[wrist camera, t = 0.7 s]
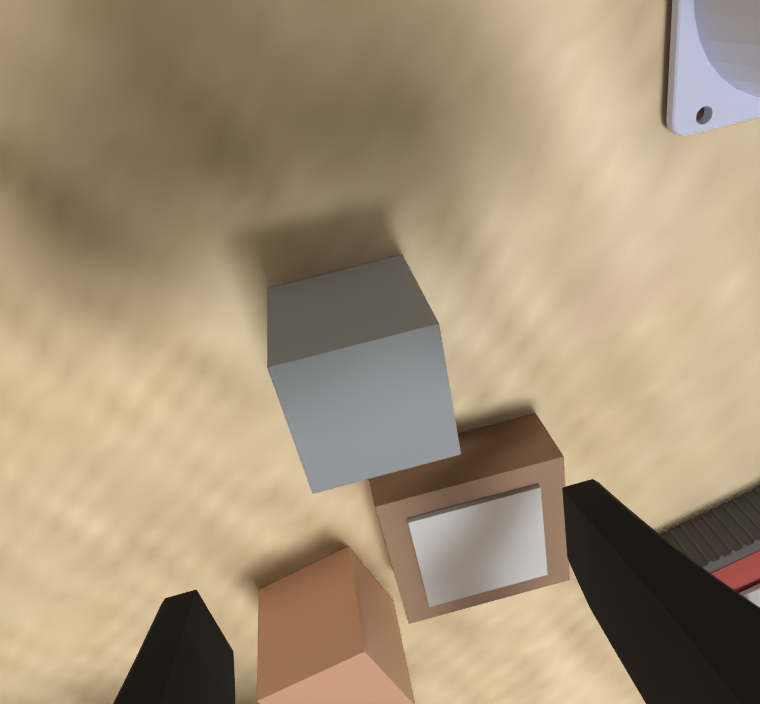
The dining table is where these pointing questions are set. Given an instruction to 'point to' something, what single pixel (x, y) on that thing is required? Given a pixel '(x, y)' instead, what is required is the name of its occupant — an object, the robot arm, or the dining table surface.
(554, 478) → the walnut block
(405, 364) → the slate cube
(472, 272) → the dining table surface
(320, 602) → the terracotta cube
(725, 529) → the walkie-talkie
